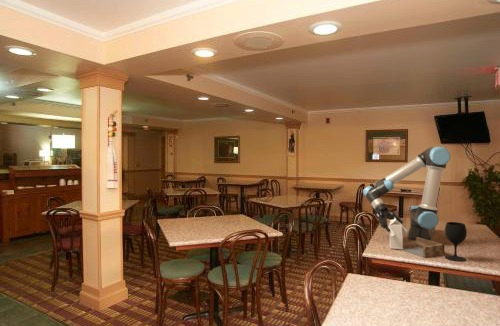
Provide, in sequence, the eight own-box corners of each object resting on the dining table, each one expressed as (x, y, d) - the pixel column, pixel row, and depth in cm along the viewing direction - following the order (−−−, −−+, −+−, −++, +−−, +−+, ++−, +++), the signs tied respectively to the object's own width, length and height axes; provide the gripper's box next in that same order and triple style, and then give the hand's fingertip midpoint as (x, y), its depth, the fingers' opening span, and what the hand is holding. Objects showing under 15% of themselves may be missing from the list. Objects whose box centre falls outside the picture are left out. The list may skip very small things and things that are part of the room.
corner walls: (417, 246, 210) (417, 237, 210) (444, 254, 193) (444, 244, 193) (398, 249, 204) (398, 239, 203) (425, 257, 186) (425, 247, 186)
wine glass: (466, 262, 177) (466, 226, 177) (444, 259, 183) (444, 224, 183) (466, 257, 186) (466, 222, 186) (445, 254, 192) (445, 221, 191)
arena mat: (417, 247, 209) (417, 246, 209) (440, 253, 194) (440, 253, 194) (400, 249, 203) (400, 249, 203) (423, 257, 188) (423, 256, 188)
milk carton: (401, 246, 209) (400, 217, 209) (402, 249, 202) (402, 218, 202) (389, 246, 211) (388, 216, 211) (390, 248, 204) (389, 218, 205)
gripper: (388, 208, 225) (408, 235, 212) (363, 211, 214) (383, 240, 201) (394, 201, 221) (415, 229, 207) (370, 204, 210) (390, 233, 196)
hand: (399, 234), depth 204 cm, fingers open, 11 cm apart
